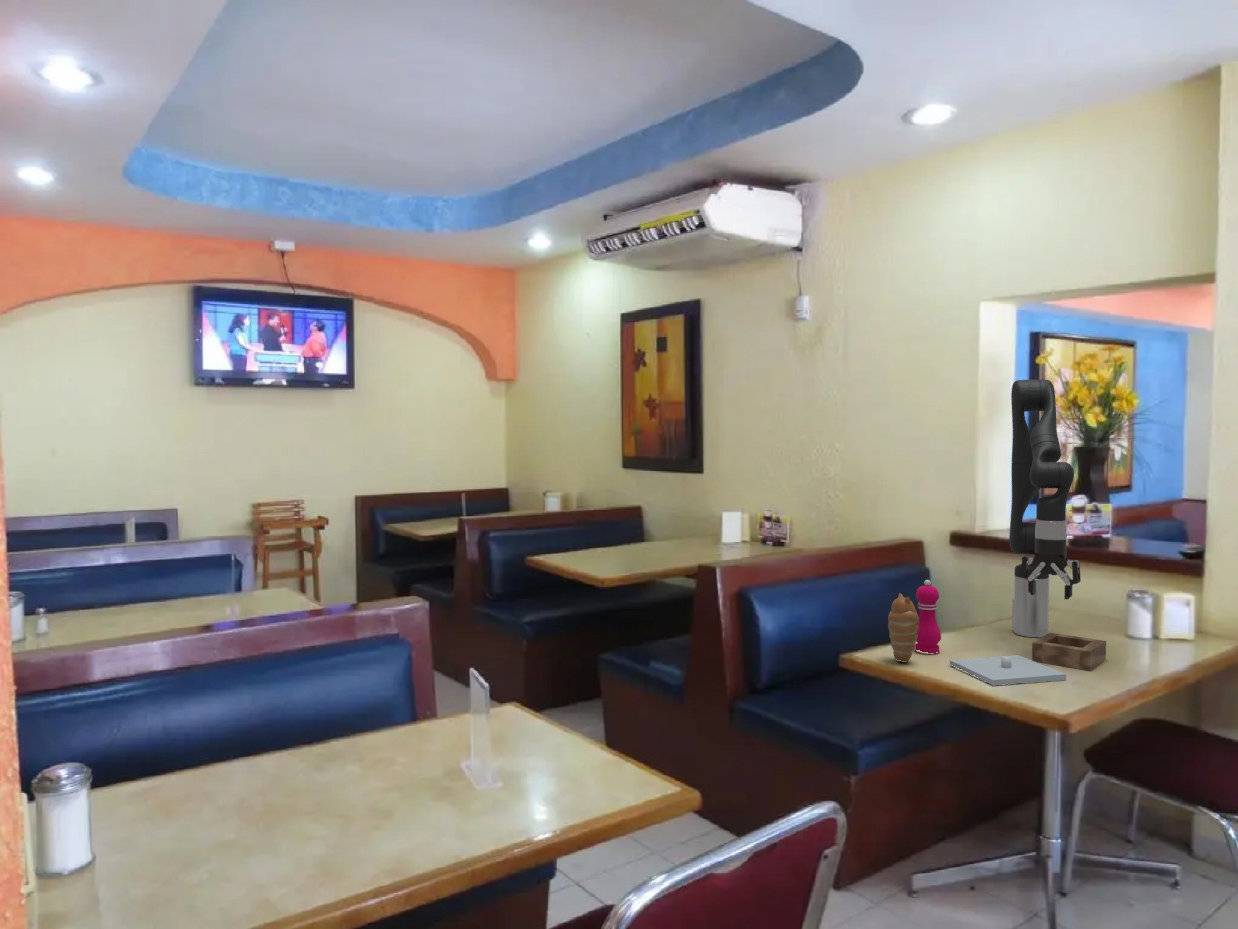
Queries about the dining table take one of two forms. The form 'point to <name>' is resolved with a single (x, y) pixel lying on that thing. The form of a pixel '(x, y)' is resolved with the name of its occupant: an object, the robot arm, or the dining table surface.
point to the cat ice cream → (903, 627)
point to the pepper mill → (927, 619)
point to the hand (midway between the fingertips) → (1049, 596)
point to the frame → (1069, 651)
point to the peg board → (1008, 670)
